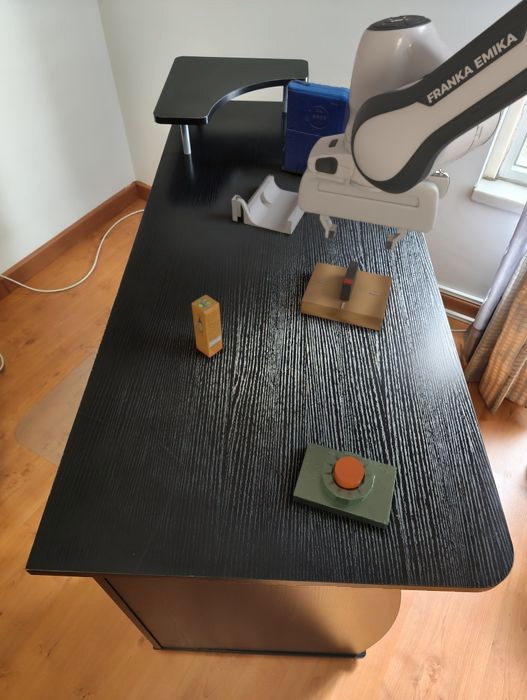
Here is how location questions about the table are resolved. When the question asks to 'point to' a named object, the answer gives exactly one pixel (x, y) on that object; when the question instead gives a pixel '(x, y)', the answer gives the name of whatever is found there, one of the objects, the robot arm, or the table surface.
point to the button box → (327, 495)
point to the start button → (348, 472)
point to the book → (311, 120)
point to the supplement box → (207, 325)
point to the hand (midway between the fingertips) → (359, 242)
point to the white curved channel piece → (270, 208)
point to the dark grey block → (349, 280)
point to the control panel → (363, 301)
